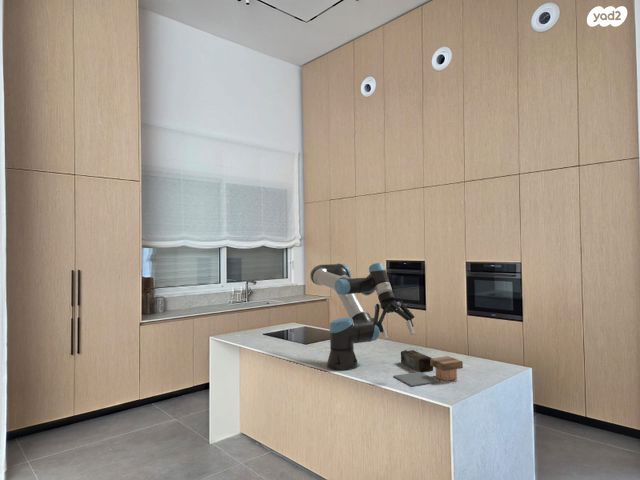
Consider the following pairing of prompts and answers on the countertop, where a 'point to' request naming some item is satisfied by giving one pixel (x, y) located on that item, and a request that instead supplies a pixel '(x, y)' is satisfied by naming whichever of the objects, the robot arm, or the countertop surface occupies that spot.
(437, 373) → the pot
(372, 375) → the countertop surface
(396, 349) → the countertop surface
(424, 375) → the mat
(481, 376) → the countertop surface
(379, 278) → the robot arm
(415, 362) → the beverage carton
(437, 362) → the lid
